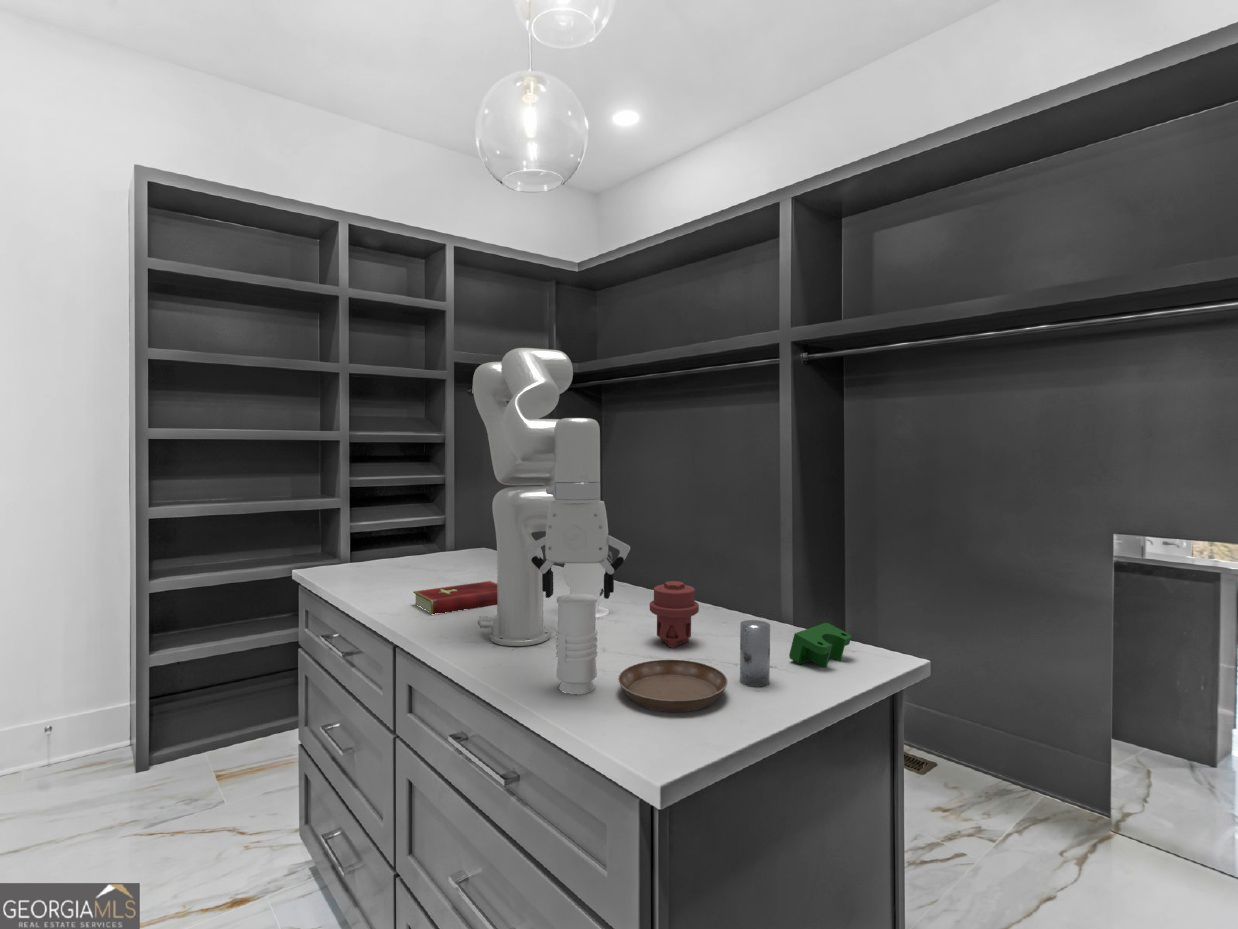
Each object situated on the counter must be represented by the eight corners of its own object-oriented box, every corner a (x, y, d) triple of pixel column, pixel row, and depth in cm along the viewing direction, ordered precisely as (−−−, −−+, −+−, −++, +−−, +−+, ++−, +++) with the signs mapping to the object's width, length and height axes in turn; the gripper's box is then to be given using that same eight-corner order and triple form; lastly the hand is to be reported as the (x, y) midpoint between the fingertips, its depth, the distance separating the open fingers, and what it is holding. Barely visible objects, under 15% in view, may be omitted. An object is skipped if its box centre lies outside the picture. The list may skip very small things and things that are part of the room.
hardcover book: (511, 604, 165) (511, 588, 165) (431, 617, 153) (431, 599, 152) (490, 595, 175) (490, 579, 175) (413, 607, 162) (413, 590, 162)
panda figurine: (614, 607, 161) (614, 547, 160) (608, 620, 149) (608, 555, 149) (566, 606, 162) (566, 546, 161) (557, 618, 151) (557, 554, 150)
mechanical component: (700, 637, 137) (696, 652, 127) (653, 634, 139) (645, 648, 129) (700, 579, 136) (696, 589, 126) (653, 577, 138) (646, 587, 128)
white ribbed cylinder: (547, 688, 108) (547, 598, 108) (577, 677, 113) (577, 591, 113) (575, 699, 103) (575, 606, 103) (605, 687, 109) (606, 598, 108)
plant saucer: (647, 727, 94) (647, 706, 94) (601, 684, 110) (602, 667, 110) (749, 707, 101) (749, 688, 101) (692, 670, 118) (692, 654, 117)
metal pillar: (741, 686, 109) (741, 627, 109) (738, 675, 114) (739, 619, 114) (771, 687, 109) (772, 628, 108) (767, 677, 114) (768, 620, 113)
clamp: (816, 690, 119) (816, 654, 115) (789, 674, 123) (788, 638, 119) (853, 654, 125) (854, 618, 121) (826, 640, 130) (826, 605, 126)
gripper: (520, 494, 104) (521, 601, 104) (627, 494, 102) (628, 602, 103) (531, 492, 112) (531, 591, 112) (631, 491, 110) (632, 592, 110)
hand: (578, 596), depth 107 cm, fingers open, 9 cm apart
